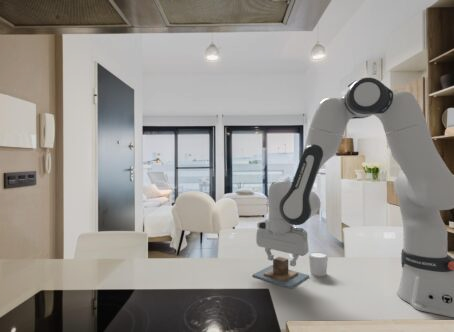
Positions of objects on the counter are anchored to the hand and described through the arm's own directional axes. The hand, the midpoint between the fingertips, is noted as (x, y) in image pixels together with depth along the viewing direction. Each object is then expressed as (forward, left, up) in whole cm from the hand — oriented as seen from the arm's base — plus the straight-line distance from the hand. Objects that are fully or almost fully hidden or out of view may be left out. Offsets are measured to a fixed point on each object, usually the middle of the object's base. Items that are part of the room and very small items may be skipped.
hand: (281, 262), depth 106 cm
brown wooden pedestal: (0, 0, -5) cm, 5 cm away
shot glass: (-9, -12, -5) cm, 16 cm away
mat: (0, 0, -5) cm, 5 cm away
